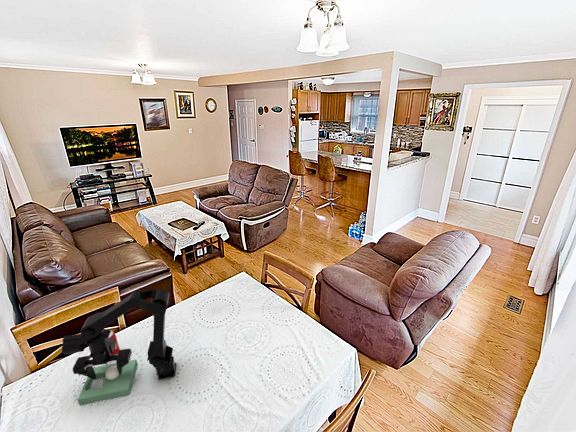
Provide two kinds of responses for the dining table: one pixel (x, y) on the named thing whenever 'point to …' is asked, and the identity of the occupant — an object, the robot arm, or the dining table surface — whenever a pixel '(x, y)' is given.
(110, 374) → the ball
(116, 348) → the beverage can
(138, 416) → the dining table surface
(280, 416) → the dining table surface
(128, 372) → the green shape sorter board
